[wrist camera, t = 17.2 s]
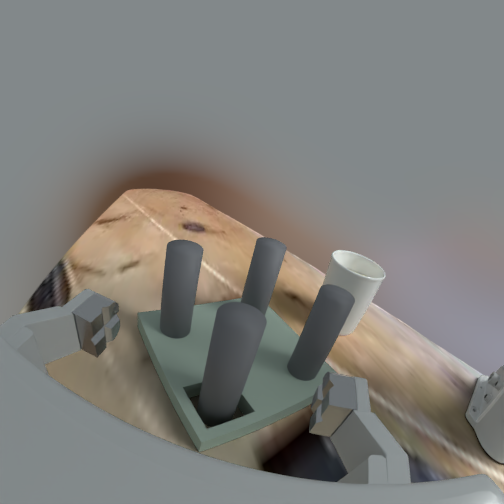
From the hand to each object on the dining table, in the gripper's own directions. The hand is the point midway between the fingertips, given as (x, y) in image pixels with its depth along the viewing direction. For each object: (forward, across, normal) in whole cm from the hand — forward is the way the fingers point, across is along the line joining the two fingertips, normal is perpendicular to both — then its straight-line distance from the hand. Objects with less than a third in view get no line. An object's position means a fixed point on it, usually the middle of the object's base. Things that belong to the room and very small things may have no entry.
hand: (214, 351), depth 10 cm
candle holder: (+36, -14, +21) cm, 44 cm away
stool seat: (+19, +1, +20) cm, 28 cm away
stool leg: (+10, +1, +20) cm, 23 cm away
